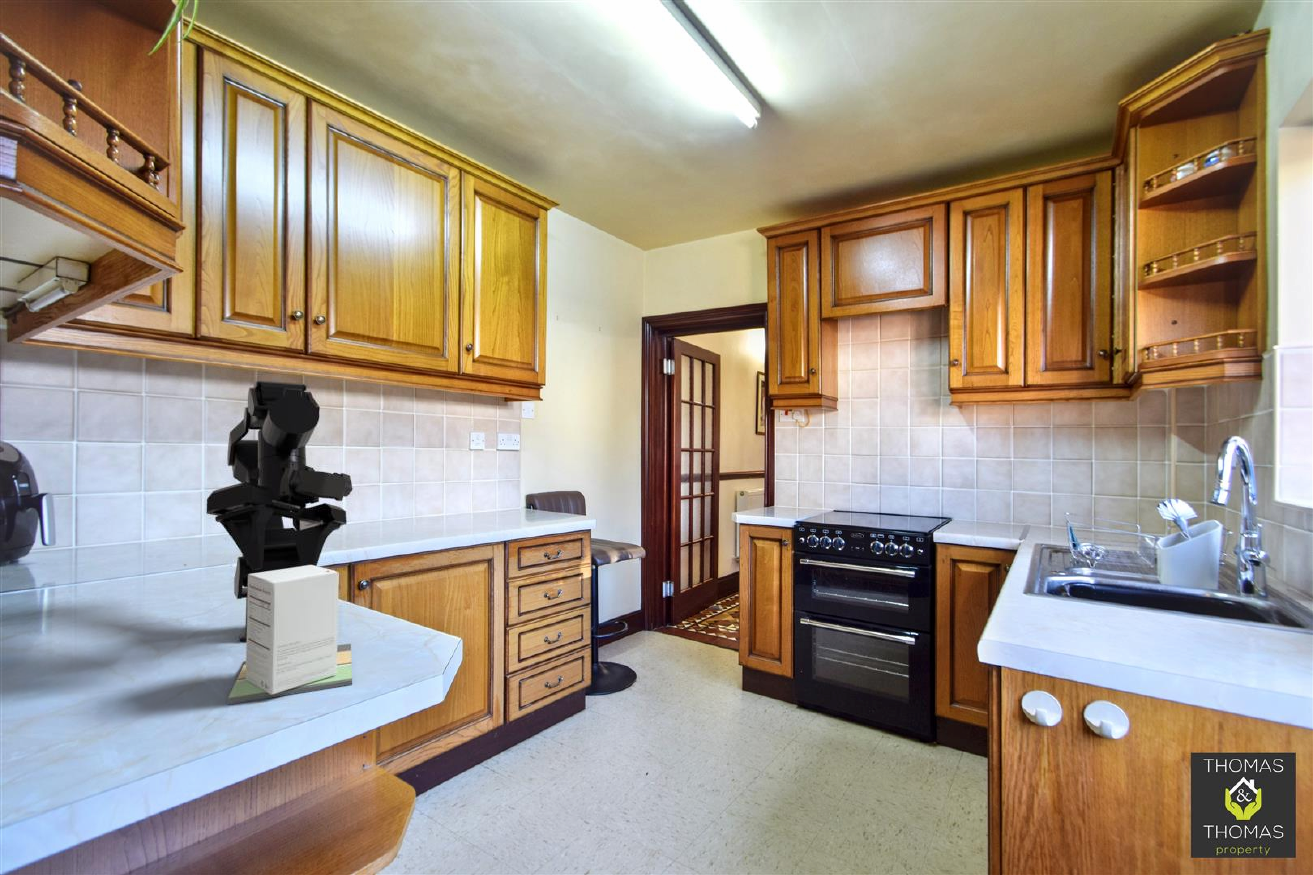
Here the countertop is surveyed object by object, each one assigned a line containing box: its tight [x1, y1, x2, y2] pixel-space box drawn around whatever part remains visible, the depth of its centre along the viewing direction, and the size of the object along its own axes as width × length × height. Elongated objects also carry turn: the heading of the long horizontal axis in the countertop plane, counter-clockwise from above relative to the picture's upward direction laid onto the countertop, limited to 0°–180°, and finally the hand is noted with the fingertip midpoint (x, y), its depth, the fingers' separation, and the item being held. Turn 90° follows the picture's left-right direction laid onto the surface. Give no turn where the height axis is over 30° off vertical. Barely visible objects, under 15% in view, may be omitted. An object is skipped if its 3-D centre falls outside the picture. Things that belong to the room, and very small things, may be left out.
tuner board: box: [227, 643, 353, 706], centre depth 72 cm, size 15×12×1 cm
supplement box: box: [245, 565, 340, 695], centre depth 69 cm, size 7×7×13 cm
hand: (284, 571), depth 76 cm, fingers open, 9 cm apart
